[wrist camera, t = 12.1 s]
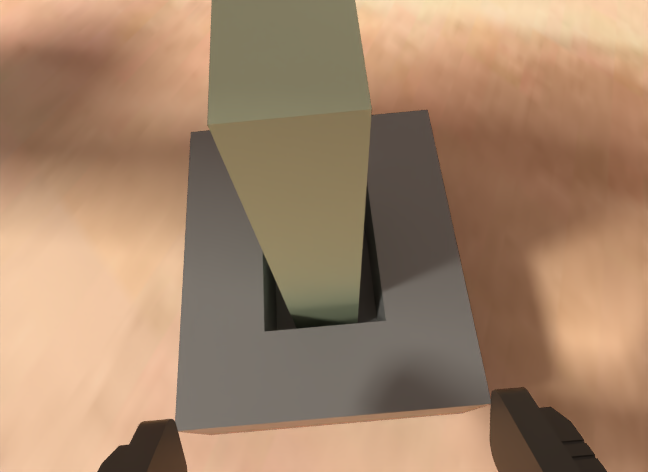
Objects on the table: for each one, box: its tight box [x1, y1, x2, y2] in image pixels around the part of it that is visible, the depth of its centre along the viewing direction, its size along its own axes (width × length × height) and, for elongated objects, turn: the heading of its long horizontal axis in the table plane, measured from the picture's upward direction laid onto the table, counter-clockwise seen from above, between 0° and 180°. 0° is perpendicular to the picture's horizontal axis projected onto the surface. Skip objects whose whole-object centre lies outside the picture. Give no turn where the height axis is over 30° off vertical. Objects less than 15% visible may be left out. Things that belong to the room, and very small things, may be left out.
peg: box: [207, 0, 372, 329], centre depth 17 cm, size 3×5×16 cm, turn 4°
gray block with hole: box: [175, 110, 491, 435], centre depth 23 cm, size 12×14×5 cm
